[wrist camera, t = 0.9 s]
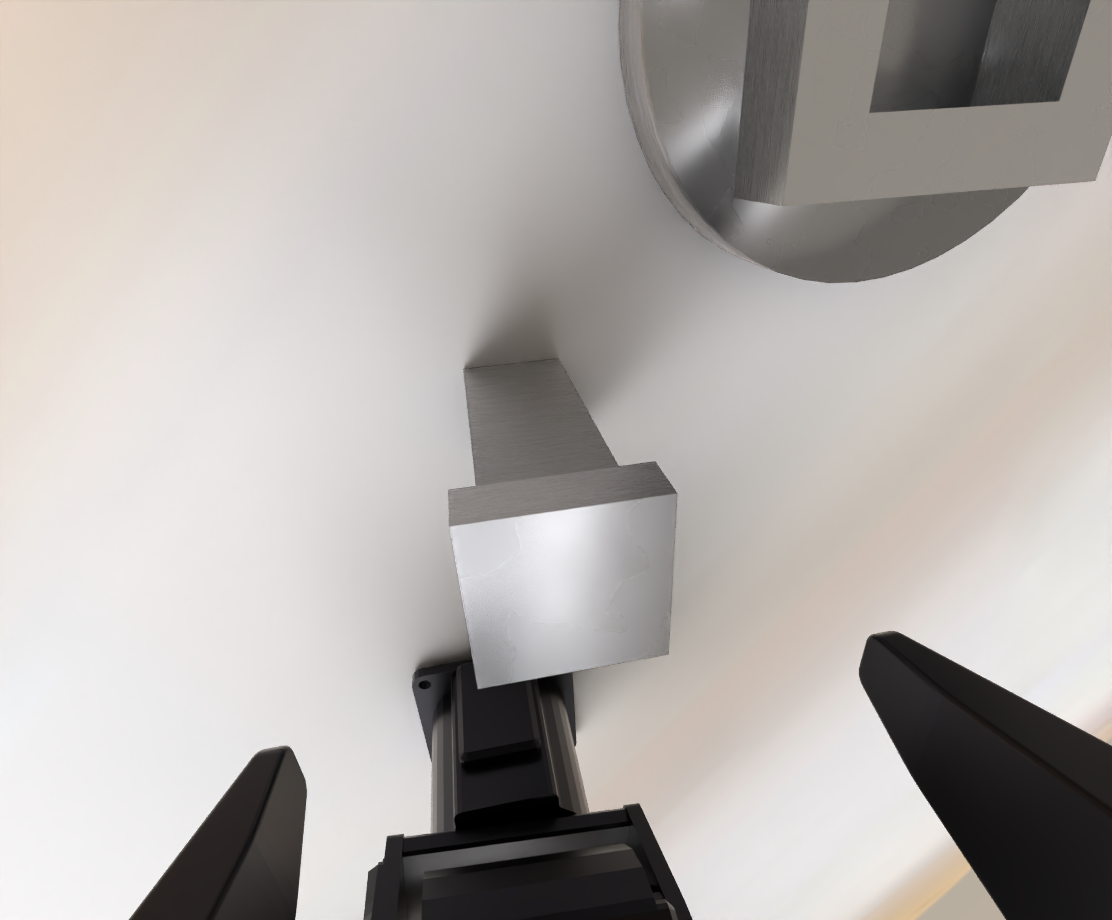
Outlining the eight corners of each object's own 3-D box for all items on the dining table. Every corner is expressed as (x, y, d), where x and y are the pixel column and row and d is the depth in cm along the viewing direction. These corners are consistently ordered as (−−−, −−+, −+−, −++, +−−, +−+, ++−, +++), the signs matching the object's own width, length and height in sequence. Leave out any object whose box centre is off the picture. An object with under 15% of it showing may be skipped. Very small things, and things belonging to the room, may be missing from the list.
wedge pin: (577, 453, 20) (668, 654, 12) (462, 468, 20) (477, 689, 12) (572, 341, 18) (677, 493, 10) (444, 355, 18) (449, 526, 10)
